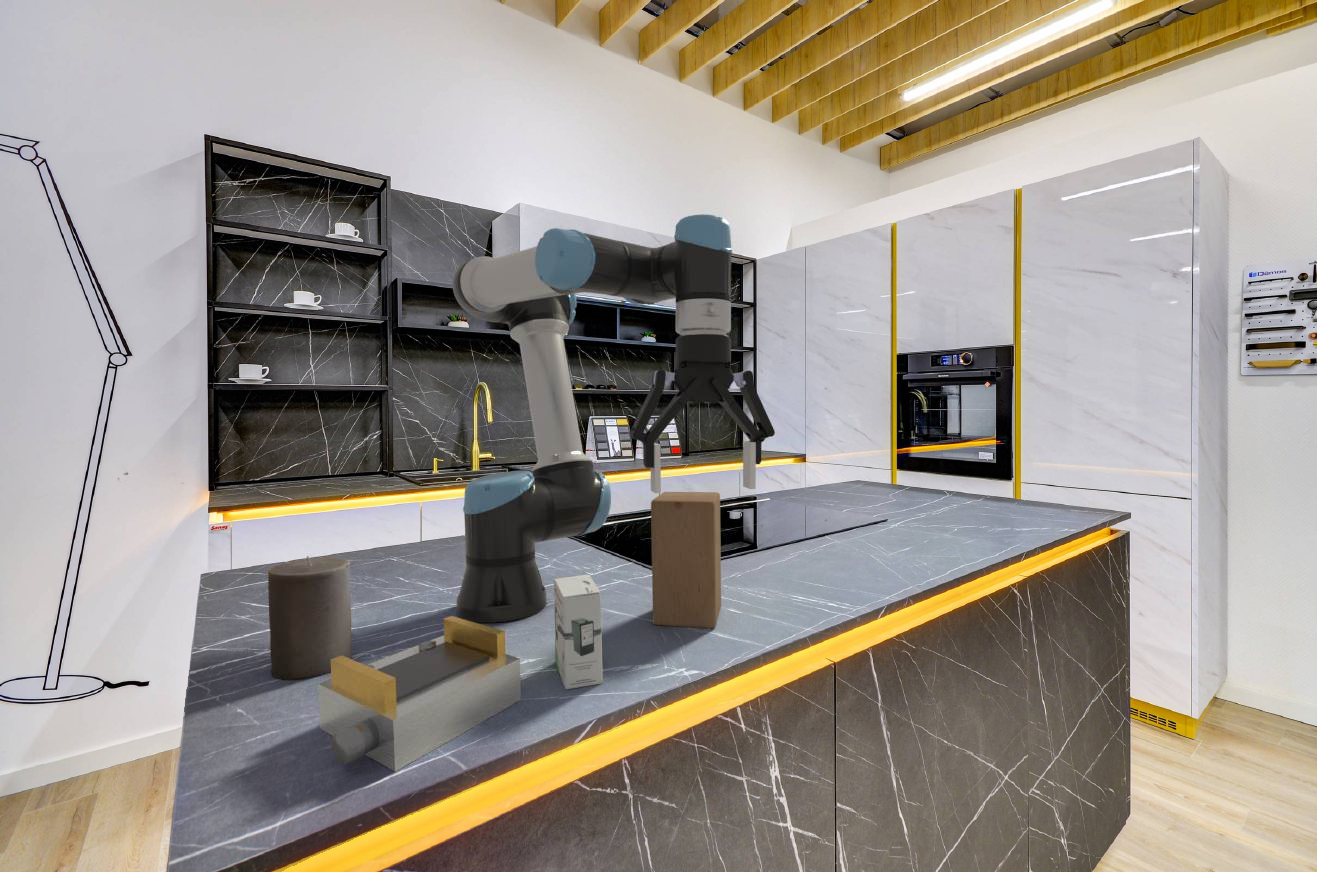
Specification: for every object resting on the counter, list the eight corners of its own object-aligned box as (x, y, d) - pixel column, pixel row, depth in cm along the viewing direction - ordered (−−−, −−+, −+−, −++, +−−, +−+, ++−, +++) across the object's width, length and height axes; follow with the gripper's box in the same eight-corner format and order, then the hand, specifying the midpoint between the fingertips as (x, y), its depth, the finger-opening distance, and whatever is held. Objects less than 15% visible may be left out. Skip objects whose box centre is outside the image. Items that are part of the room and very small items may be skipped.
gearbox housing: (290, 742, 60) (286, 667, 60) (446, 671, 76) (444, 612, 76) (364, 789, 52) (360, 703, 52) (520, 699, 68) (519, 633, 68)
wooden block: (715, 629, 89) (713, 501, 88) (652, 625, 91) (650, 500, 90) (721, 607, 99) (720, 491, 98) (664, 604, 101) (662, 491, 100)
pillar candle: (263, 686, 73) (259, 568, 72) (278, 656, 82) (275, 551, 81) (350, 672, 77) (347, 560, 76) (356, 644, 86) (353, 545, 85)
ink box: (554, 662, 78) (551, 576, 78) (589, 656, 80) (588, 572, 80) (564, 690, 70) (562, 595, 70) (604, 684, 72) (602, 590, 71)
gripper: (617, 329, 72) (619, 498, 73) (799, 334, 78) (798, 489, 79) (608, 336, 79) (609, 489, 80) (775, 340, 85) (774, 482, 86)
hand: (703, 490), depth 80 cm, fingers open, 13 cm apart
